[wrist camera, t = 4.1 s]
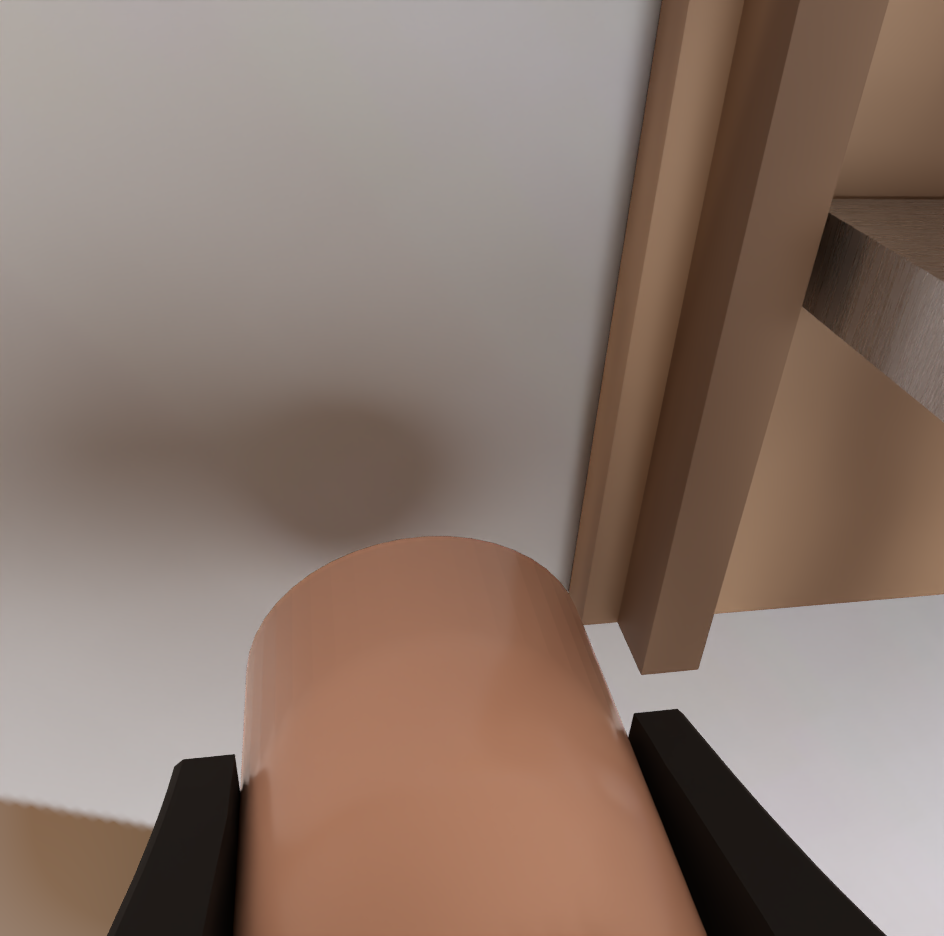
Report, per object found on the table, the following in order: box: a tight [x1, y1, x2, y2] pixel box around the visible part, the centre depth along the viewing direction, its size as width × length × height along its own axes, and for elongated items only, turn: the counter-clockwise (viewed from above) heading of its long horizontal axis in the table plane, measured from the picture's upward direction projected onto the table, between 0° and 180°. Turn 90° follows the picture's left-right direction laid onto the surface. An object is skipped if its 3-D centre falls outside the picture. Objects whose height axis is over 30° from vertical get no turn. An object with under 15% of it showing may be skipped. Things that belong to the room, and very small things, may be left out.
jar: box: [233, 536, 707, 936], centre depth 10 cm, size 5×5×7 cm
